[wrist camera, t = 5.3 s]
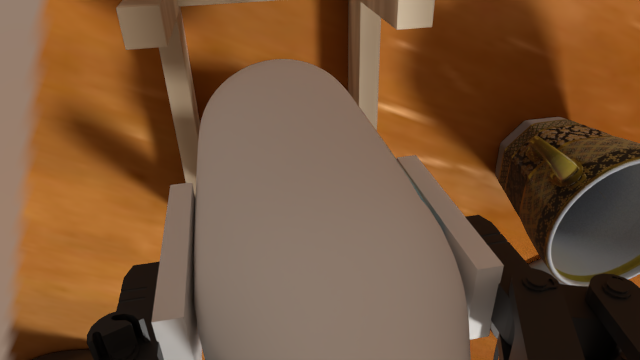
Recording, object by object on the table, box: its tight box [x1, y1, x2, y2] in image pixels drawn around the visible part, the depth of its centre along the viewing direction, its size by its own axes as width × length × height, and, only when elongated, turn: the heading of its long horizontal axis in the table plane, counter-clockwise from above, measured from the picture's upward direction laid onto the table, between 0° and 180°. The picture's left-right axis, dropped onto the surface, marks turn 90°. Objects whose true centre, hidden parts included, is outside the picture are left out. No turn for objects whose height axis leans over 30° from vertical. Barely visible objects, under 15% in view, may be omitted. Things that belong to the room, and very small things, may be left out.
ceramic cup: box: [495, 117, 640, 286], centre depth 33 cm, size 13×10×10 cm
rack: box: [116, 0, 435, 196], centre depth 28 cm, size 13×17×10 cm
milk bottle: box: [194, 59, 470, 360], centre depth 15 cm, size 8×8×20 cm
